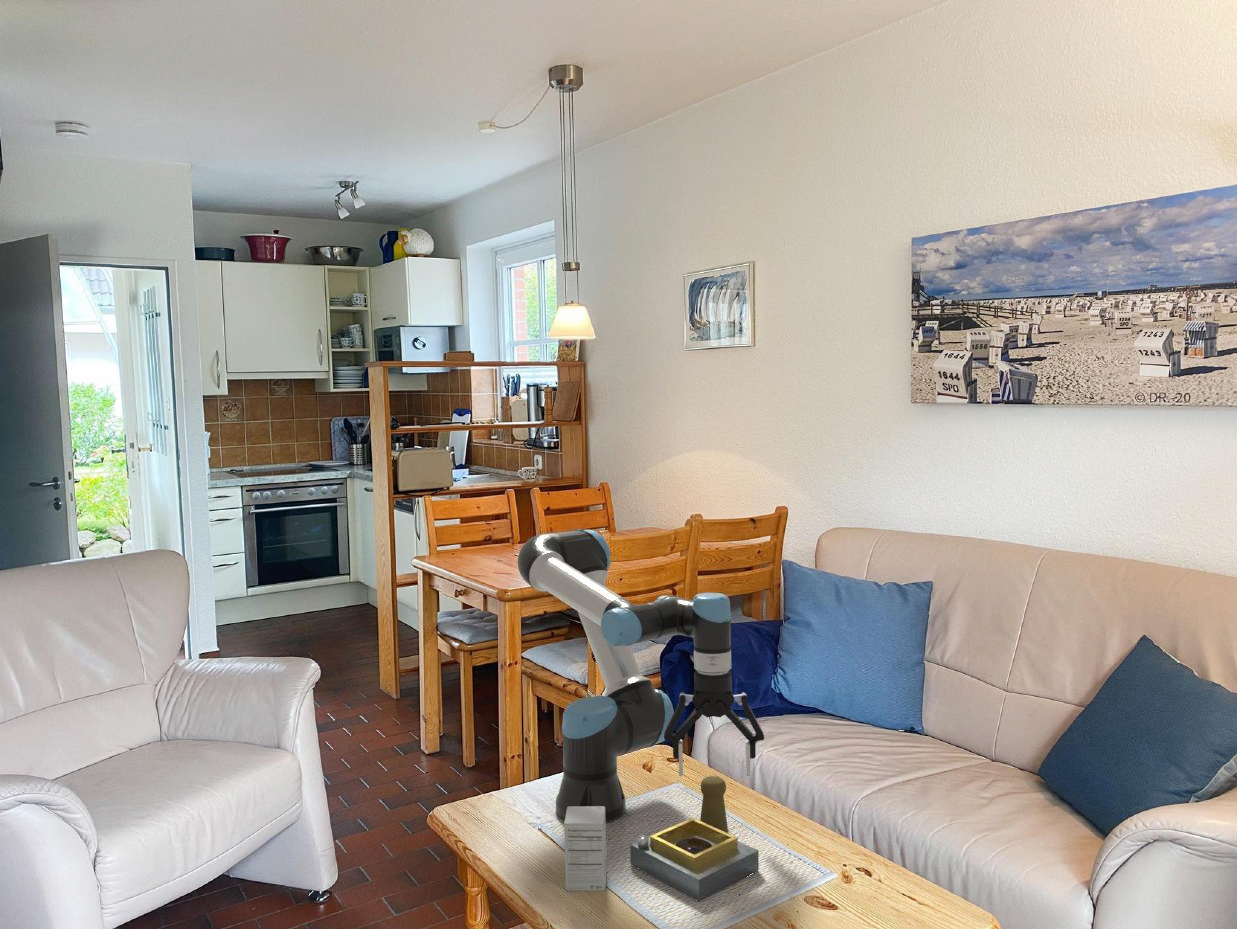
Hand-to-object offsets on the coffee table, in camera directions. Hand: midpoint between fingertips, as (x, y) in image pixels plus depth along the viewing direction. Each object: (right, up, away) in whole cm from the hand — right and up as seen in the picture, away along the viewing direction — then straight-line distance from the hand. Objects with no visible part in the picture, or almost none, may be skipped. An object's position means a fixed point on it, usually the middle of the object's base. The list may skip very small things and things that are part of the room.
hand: (714, 773), depth 187 cm
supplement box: (-25, -14, -19) cm, 34 cm away
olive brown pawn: (0, -12, +1) cm, 12 cm away
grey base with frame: (-5, -13, -14) cm, 20 cm away
